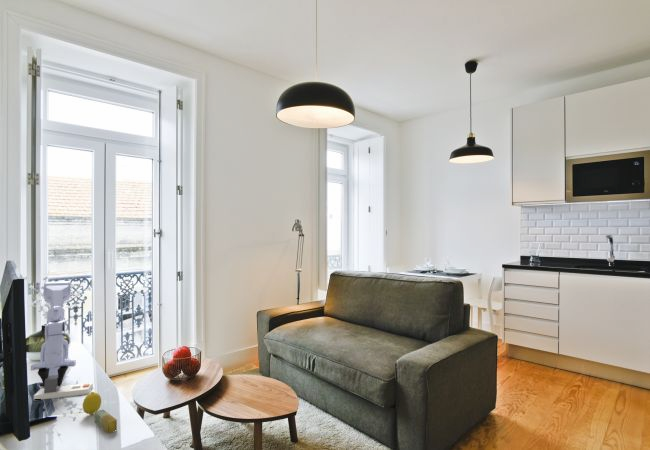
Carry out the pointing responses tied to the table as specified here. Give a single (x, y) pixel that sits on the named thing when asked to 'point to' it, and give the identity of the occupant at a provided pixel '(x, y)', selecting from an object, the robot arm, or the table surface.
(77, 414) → the table surface
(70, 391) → the power strip
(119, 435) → the table surface
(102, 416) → the medication box
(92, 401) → the lemon
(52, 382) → the block
